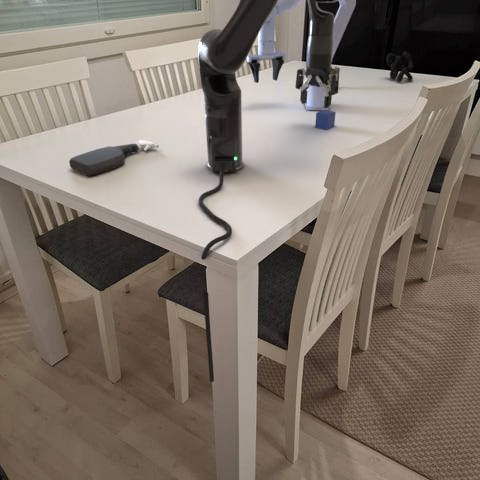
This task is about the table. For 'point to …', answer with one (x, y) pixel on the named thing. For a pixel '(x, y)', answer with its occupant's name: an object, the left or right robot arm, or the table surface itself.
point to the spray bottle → (106, 157)
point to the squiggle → (399, 66)
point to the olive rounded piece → (333, 72)
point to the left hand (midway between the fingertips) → (315, 105)
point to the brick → (325, 119)
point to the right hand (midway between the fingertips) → (265, 81)
